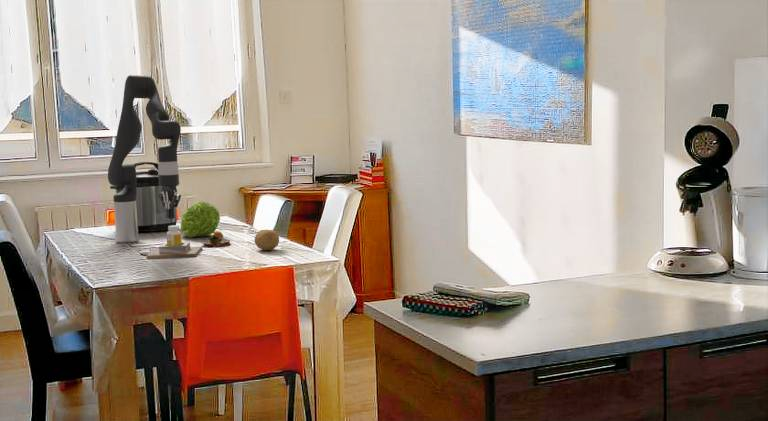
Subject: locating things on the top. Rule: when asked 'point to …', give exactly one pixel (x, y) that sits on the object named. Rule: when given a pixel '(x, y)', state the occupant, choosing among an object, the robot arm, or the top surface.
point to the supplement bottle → (173, 236)
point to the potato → (267, 239)
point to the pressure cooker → (149, 201)
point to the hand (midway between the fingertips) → (170, 218)
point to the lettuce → (200, 220)
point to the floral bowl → (216, 240)
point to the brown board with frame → (174, 251)
